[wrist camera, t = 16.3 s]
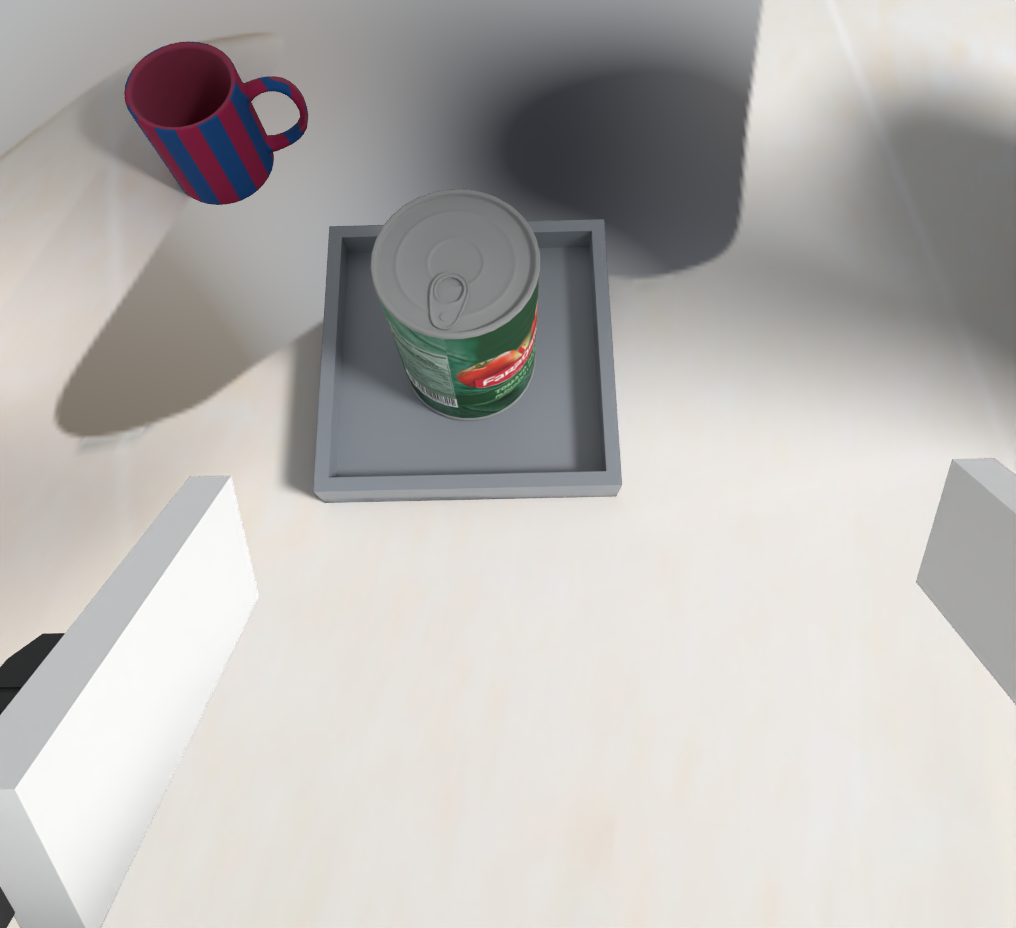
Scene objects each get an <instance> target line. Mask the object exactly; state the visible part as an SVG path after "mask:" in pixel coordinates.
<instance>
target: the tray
mask: <svg viewBox="0 0 1016 928" xmlns="http://www.w3.org/2000/svg"><path fill="white" fill-rule="evenodd" d="M527 223H528V224H529V225H530V227H531V229H532V231H533V233H534V235H535V237H536V239H537V243H538V248H539V252H540V272H539V289H538V306H537V328H536V348H535V370H534V374H533V378H532V380H531V383H530V385H529V387H528V389H527V390H526V392H525V393H524V395H523V396H522V397H521V399H520V400H519V401H517V402H516V403H515V404H514V405H513V406H512V407H511V408H509V409H508V410H506V411H504V412H503V413H501V414H499V415H496V416H494V417H491V418H489V419H483V420H478V421H460V420H455V419H450V418H447V417H445V416H442V415H440V414H437V413H436V412H434V411H433V410H431V409H430V408H428V407H427V406H426V405H425V404H424V403H423V402H422V401H421V400H420V399H419V398H418V397H417V396H416V394H415V393H414V391H413V390H412V388H411V386H410V383H409V381H408V378H407V374H406V371H405V368H404V366H403V363H402V360H401V357H400V355H399V352H398V349H397V347H396V343H395V341H394V338H393V335H392V333H391V330H390V327H389V324H388V322H387V319H386V316H385V313H384V311H383V308H382V305H381V303H380V299H379V298H378V295H377V293H376V290H375V288H374V285H373V281H372V275H371V268H370V267H371V254H372V250H373V247H374V244H375V240H376V238H377V236H378V234H379V233H380V231H381V229H382V227H383V226H384V225H371V226H370V225H368V226H331V227H329V244H328V260H327V276H326V293H325V309H324V325H323V341H322V357H321V373H320V390H319V406H318V422H317V439H316V455H315V471H314V488H313V492H314V493H315V494H316V495H317V496H318V497H319V498H320V499H321V500H322V501H324V502H325V503H337V502H382V501H426V500H471V499H515V498H560V497H604V496H617V494H618V492H619V490H620V488H621V486H622V478H621V464H620V449H619V434H618V419H617V404H616V389H615V374H614V359H613V345H612V330H611V315H610V300H609V285H608V270H607V255H606V243H605V241H606V240H605V226H604V219H596V220H561V221H560V220H558V221H527Z"/></svg>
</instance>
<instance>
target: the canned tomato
mask: <svg viewBox="0 0 1016 928" xmlns="http://www.w3.org/2000/svg"><path fill="white" fill-rule="evenodd" d="M370 268H371V275H372V281H373V285H374V288H375V290H376V293H377V295H378V298H379V299H380V303H381V305H382V308H383V311H384V313H385V316H386V319H387V322H388V324H389V327H390V330H391V333H392V335H393V338H394V341H395V343H396V347H397V349H398V352H399V355H400V357H401V360H402V363H403V366H404V368H405V371H406V374H407V378H408V381H409V383H410V386H411V388H412V390H413V391H414V393H415V394H416V396H417V397H418V398H419V399H420V400H421V401H422V402H423V403H424V404H425V405H426V406H427V407H428V408H430V409H431V410H433V411H434V412H436V413H437V414H440V415H442V416H445V417H447V418H450V419H455V420H460V421H478V420H483V419H489V418H491V417H494V416H496V415H499V414H501V413H503V412H504V411H506V410H508V409H509V408H511V407H512V406H513V405H514V404H515V403H516V402H517V401H519V400H520V399H521V397H522V396H523V395H524V393H525V392H526V390H527V389H528V387H529V385H530V383H531V380H532V378H533V374H534V370H535V348H536V328H537V306H538V289H539V272H540V252H539V248H538V243H537V239H536V237H535V235H534V233H533V231H532V229H531V227H530V225H529V224H528V223H527V221H526V220H525V219H524V218H523V216H522V215H521V214H520V213H519V212H518V211H516V210H515V209H514V208H513V207H512V206H510V205H509V204H507V203H506V202H504V201H502V200H500V199H498V198H497V197H494V196H491V195H489V194H486V193H483V192H479V191H473V190H467V189H450V190H443V191H437V192H433V193H430V194H427V195H424V196H421V197H418V198H417V199H415V200H413V201H411V202H410V203H407V204H406V205H404V206H403V207H402V208H401V209H399V210H398V211H397V212H396V213H394V214H393V215H392V216H391V217H390V219H389V220H388V221H387V222H386V223H385V225H384V226H383V227H382V229H381V231H380V233H379V234H378V236H377V238H376V240H375V244H374V247H373V250H372V254H371V267H370Z"/></svg>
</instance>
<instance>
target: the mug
mask: <svg viewBox="0 0 1016 928" xmlns="http://www.w3.org/2000/svg"><path fill="white" fill-rule="evenodd" d="M268 91H276V92H281V93H283V94H285V95H287V96H289V97H290V98H291V99H292V100H293V101H294V103H295V104H296V105H297V107H298V109H299V111H300V118H299V120H298V122H297V123H296V124H295V125H294V126H293V127H292V128H290V129H289V130H288V131H285V132H283V133H280V134H277V135H267V134H266V132H265V130H264V128H263V126H262V124H261V122H260V120H259V118H258V115H257V113H256V111H255V109H254V107H253V105H252V103H251V101H252V100H253V99H254V98H255V97H256V96H257V95H259V94H261V93H264V92H268ZM124 94H125V102H126V105H127V108H128V110H129V112H130V113H131V115H132V116H133V118H134V119H135V121H136V122H137V124H138V125H139V127H140V128H141V129H142V131H143V132H144V134H145V135H146V137H147V138H148V140H149V141H150V143H151V144H152V146H153V147H154V148H155V150H156V151H157V153H158V154H159V156H160V157H161V159H162V160H163V162H164V163H165V165H166V166H167V167H168V169H169V170H170V172H171V173H172V175H173V176H174V178H175V179H176V181H177V182H178V184H179V185H180V186H181V188H182V189H183V190H184V191H185V192H186V193H187V194H188V195H189V196H191V197H192V198H193V199H196V200H198V201H200V202H204V203H207V204H216V205H220V204H221V205H222V204H230V203H235V202H238V201H240V200H243V199H245V198H247V197H249V196H251V195H252V194H253V193H255V192H256V191H257V190H258V189H259V188H260V187H261V186H262V185H263V184H264V183H265V181H266V180H267V178H268V177H269V175H270V172H271V171H272V166H273V160H274V158H273V157H274V155H273V152H274V151H278V150H280V149H283V148H285V147H287V146H289V145H291V144H293V143H294V142H296V141H297V140H299V139H300V138H301V136H302V135H303V134H304V132H305V130H306V129H307V122H308V111H307V106H306V103H305V100H304V97H303V96H302V94H301V92H300V91H299V90H298V88H297V87H296V86H295V85H294V84H292V83H291V82H290V81H288V80H286V79H284V78H280V77H262V78H257V79H254V80H251V81H249V82H247V83H243V82H242V81H241V79H240V77H239V75H238V73H237V71H236V69H235V67H234V64H233V63H232V61H231V60H230V58H229V57H228V56H227V55H226V54H225V53H223V52H222V51H220V50H219V49H217V48H216V47H213V46H211V45H208V44H204V43H200V42H179V43H174V44H170V45H167V46H164V47H161V48H159V49H157V50H155V51H153V52H151V53H150V54H148V55H147V56H145V57H144V58H143V59H142V60H141V61H140V62H139V63H138V64H137V65H136V66H135V67H134V69H133V70H132V71H131V73H130V75H129V77H128V79H127V82H126V85H125V93H124Z"/></svg>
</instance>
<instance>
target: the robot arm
mask: <svg viewBox="0 0 1016 928" xmlns="http://www.w3.org/2000/svg"><path fill="white" fill-rule="evenodd" d="M916 583H917V584H918V585H919V586H920V587H921V589H922V590H923V591H924V592H925V594H926V595H927V596H928V597H929V599H930V600H931V601H932V602H933V604H934V605H935V606H936V607H937V608H938V610H939V611H940V612H941V613H942V615H943V616H944V617H945V618H946V620H947V621H948V622H949V623H950V624H951V626H952V627H953V628H954V629H955V631H956V632H957V633H958V634H959V636H960V637H961V638H962V639H963V640H964V642H965V643H966V644H967V645H968V647H969V648H970V649H971V650H972V652H973V653H974V654H975V655H976V656H977V658H978V659H979V660H980V661H981V663H982V664H983V665H984V666H985V668H986V669H987V670H988V671H989V672H990V674H991V675H992V676H993V677H994V679H995V680H996V681H997V682H998V684H999V685H1000V686H1001V687H1002V688H1003V690H1004V691H1005V692H1006V693H1007V695H1008V696H1009V697H1010V698H1011V700H1012V701H1013V702H1014V703H1015V705H1016V474H1014V473H1013V472H1012V471H1010V470H1009V469H1008V468H1007V467H1005V466H1004V465H1003V464H1001V463H1000V462H999V461H998V460H996V459H995V458H984V459H952V462H951V465H950V468H949V472H948V475H947V479H946V482H945V485H944V489H943V492H942V495H941V499H940V502H939V506H938V509H937V512H936V516H935V519H934V523H933V526H932V529H931V533H930V536H929V539H928V543H927V546H926V550H925V553H924V556H923V560H922V563H921V566H920V570H919V573H918V577H917V580H916ZM258 597H259V593H258V589H257V585H256V580H255V576H254V572H253V567H252V563H251V559H250V554H249V550H248V546H247V542H246V537H245V533H244V529H243V524H242V520H241V516H240V512H239V507H238V503H237V499H236V494H235V490H234V486H233V481H232V477H231V476H198V477H189V478H188V479H187V480H186V482H185V483H184V484H183V486H182V487H181V488H180V489H179V491H178V492H177V493H176V494H175V496H174V497H173V498H172V499H171V501H170V502H169V503H168V504H167V506H166V507H165V508H164V509H163V511H162V512H161V513H160V515H159V516H158V517H157V518H156V520H155V521H154V522H153V523H152V525H151V526H150V527H149V528H148V530H147V531H146V532H145V533H144V535H143V536H142V537H141V538H140V540H139V541H138V542H137V544H136V545H135V546H134V547H133V549H132V550H131V551H130V552H129V554H128V555H127V556H126V557H125V559H124V560H123V561H122V562H121V564H120V565H119V566H118V567H117V569H116V570H115V571H114V572H113V574H112V575H111V576H110V578H109V579H108V580H107V581H106V583H105V584H104V585H103V586H102V588H101V589H100V590H99V591H98V593H97V594H96V595H95V596H94V598H93V599H92V600H91V601H90V603H89V604H88V605H87V607H86V608H85V609H84V610H83V612H82V613H81V614H80V615H79V617H78V618H77V619H76V620H75V622H74V623H73V624H72V625H71V627H70V628H69V629H68V630H67V632H66V633H55V634H42V635H40V636H39V637H38V638H36V639H35V640H33V641H32V642H31V643H29V644H28V645H26V646H25V647H23V648H22V649H21V650H19V651H18V652H16V653H15V654H14V655H12V656H11V657H9V658H8V659H7V660H6V661H5V662H4V664H3V665H2V666H1V667H0V928H7V926H8V924H9V923H10V921H11V919H12V918H13V916H14V918H15V919H16V921H17V923H18V924H19V926H20V928H101V926H102V924H103V922H104V920H105V918H106V916H107V914H108V912H109V910H110V907H111V905H112V903H113V901H114V899H115V897H116V895H117V893H118V891H119V889H120V886H121V884H122V882H123V880H124V878H125V876H126V874H127V872H128V870H129V868H130V866H131V863H132V861H133V859H134V857H135V855H136V853H137V851H138V849H139V847H140V845H141V842H142V840H143V838H144V836H145V834H146V832H147V830H148V828H149V826H150V824H151V821H152V819H153V817H154V815H155V813H156V811H157V809H158V807H159V805H160V803H161V801H162V798H163V796H164V794H165V792H166V790H167V788H168V786H169V784H170V782H171V780H172V777H173V775H174V773H175V771H176V769H177V767H178V765H179V763H180V761H181V759H182V756H183V754H184V752H185V750H186V748H187V746H188V744H189V742H190V740H191V738H192V736H193V733H194V731H195V729H196V727H197V725H198V723H199V721H200V719H201V717H202V715H203V712H204V710H205V708H206V706H207V704H208V702H209V700H210V698H211V696H212V694H213V691H214V689H215V687H216V685H217V683H218V681H219V679H220V677H221V675H222V673H223V671H224V668H225V666H226V664H227V662H228V660H229V658H230V656H231V654H232V652H233V650H234V647H235V645H236V643H237V641H238V639H239V637H240V635H241V633H242V631H243V629H244V626H245V624H246V622H247V620H248V618H249V616H250V614H251V612H252V610H253V608H254V606H255V603H256V601H257V599H258Z"/></svg>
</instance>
